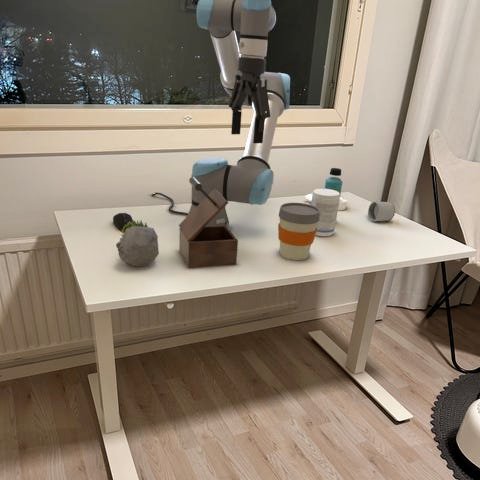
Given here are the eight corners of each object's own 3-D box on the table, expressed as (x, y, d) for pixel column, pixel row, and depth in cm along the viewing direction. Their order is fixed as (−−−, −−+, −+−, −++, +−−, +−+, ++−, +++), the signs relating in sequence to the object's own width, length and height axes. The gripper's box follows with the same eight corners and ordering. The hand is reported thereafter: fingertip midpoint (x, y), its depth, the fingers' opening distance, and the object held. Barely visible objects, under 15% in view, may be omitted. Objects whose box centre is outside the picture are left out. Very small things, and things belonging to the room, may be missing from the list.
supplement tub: (339, 235, 171) (346, 194, 163) (319, 238, 166) (326, 197, 159) (321, 226, 178) (327, 187, 170) (301, 229, 173) (307, 189, 165)
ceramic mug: (394, 223, 187) (398, 203, 183) (376, 224, 184) (380, 204, 181) (379, 214, 195) (383, 196, 192) (361, 215, 193) (365, 196, 189)
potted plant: (114, 263, 129) (97, 231, 137) (145, 280, 140) (128, 249, 148) (144, 231, 127) (125, 201, 135) (174, 251, 137) (154, 222, 145)
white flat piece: (300, 199, 206) (326, 196, 213) (325, 212, 193) (353, 208, 200) (301, 191, 205) (327, 189, 211) (327, 203, 192) (354, 200, 198)
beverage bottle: (317, 223, 181) (326, 169, 170) (319, 217, 186) (327, 165, 176) (335, 225, 180) (344, 171, 169) (336, 220, 185) (345, 167, 175)
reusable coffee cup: (282, 263, 145) (288, 215, 138) (268, 247, 156) (273, 202, 148) (319, 261, 149) (327, 214, 141) (304, 246, 159) (310, 202, 151)
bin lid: (216, 189, 142) (195, 167, 136) (228, 202, 131) (206, 179, 126) (180, 226, 144) (158, 206, 139) (189, 242, 134) (166, 221, 128)
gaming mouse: (119, 235, 156) (118, 223, 154) (111, 220, 168) (110, 209, 166) (138, 233, 158) (138, 222, 156) (129, 219, 170) (129, 208, 168)
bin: (224, 248, 152) (225, 225, 148) (236, 264, 142) (238, 240, 138) (179, 251, 148) (179, 227, 144) (188, 268, 138) (188, 242, 134)
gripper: (220, 53, 138) (216, 131, 149) (263, 59, 120) (256, 147, 131) (242, 55, 142) (237, 130, 152) (288, 61, 123) (279, 146, 134)
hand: (246, 138), depth 141 cm, fingers open, 13 cm apart
